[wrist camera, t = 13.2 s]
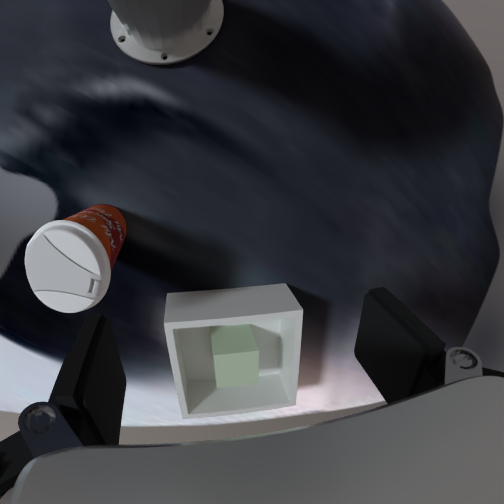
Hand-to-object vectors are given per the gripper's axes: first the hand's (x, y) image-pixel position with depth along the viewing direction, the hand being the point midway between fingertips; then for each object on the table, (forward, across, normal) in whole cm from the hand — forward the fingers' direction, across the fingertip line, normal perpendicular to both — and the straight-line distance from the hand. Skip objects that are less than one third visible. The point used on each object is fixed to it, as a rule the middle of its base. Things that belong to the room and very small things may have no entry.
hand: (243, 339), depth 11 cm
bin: (+26, -2, +19) cm, 32 cm away
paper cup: (+27, +12, +3) cm, 29 cm away
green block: (+25, -2, +19) cm, 31 cm away
